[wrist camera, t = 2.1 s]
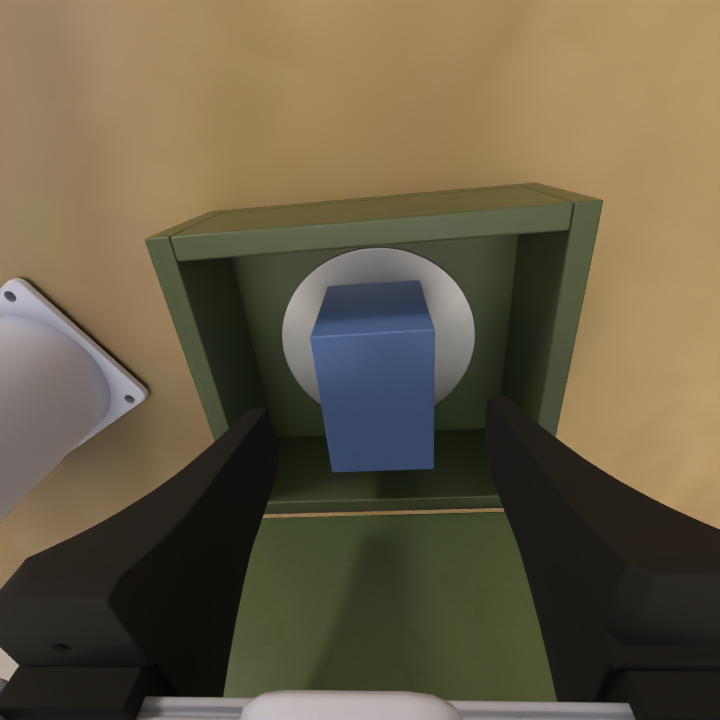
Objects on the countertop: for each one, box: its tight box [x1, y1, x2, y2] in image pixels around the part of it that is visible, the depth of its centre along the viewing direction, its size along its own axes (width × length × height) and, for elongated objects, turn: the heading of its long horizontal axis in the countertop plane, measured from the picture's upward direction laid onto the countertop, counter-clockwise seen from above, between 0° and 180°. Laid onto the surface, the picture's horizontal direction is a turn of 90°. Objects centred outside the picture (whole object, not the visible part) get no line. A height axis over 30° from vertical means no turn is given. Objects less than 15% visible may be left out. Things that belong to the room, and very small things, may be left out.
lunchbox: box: [145, 183, 603, 514], centre depth 17 cm, size 13×14×5 cm
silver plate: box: [282, 246, 475, 405], centre depth 18 cm, size 9×9×1 cm
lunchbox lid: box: [223, 512, 557, 702], centre depth 12 cm, size 13×14×1 cm
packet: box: [310, 281, 435, 472], centre depth 16 cm, size 6×4×5 cm, turn 5°
